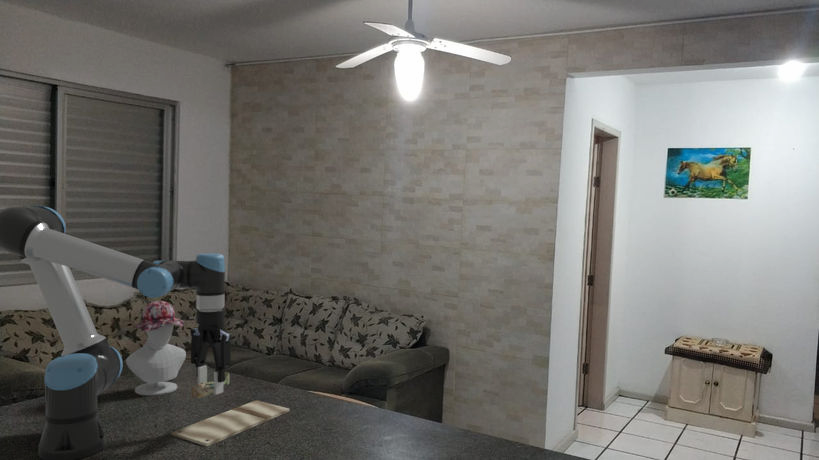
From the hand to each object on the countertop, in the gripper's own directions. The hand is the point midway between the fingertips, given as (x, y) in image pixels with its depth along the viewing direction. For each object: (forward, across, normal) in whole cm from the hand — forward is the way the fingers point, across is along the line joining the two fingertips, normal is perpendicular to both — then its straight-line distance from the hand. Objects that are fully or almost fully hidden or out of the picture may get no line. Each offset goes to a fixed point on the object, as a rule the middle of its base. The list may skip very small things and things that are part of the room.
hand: (210, 391), depth 177 cm
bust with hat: (+11, +40, -15) cm, 44 cm away
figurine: (+1, 0, 0) cm, 1 cm away
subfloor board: (+11, -2, -7) cm, 13 cm away
